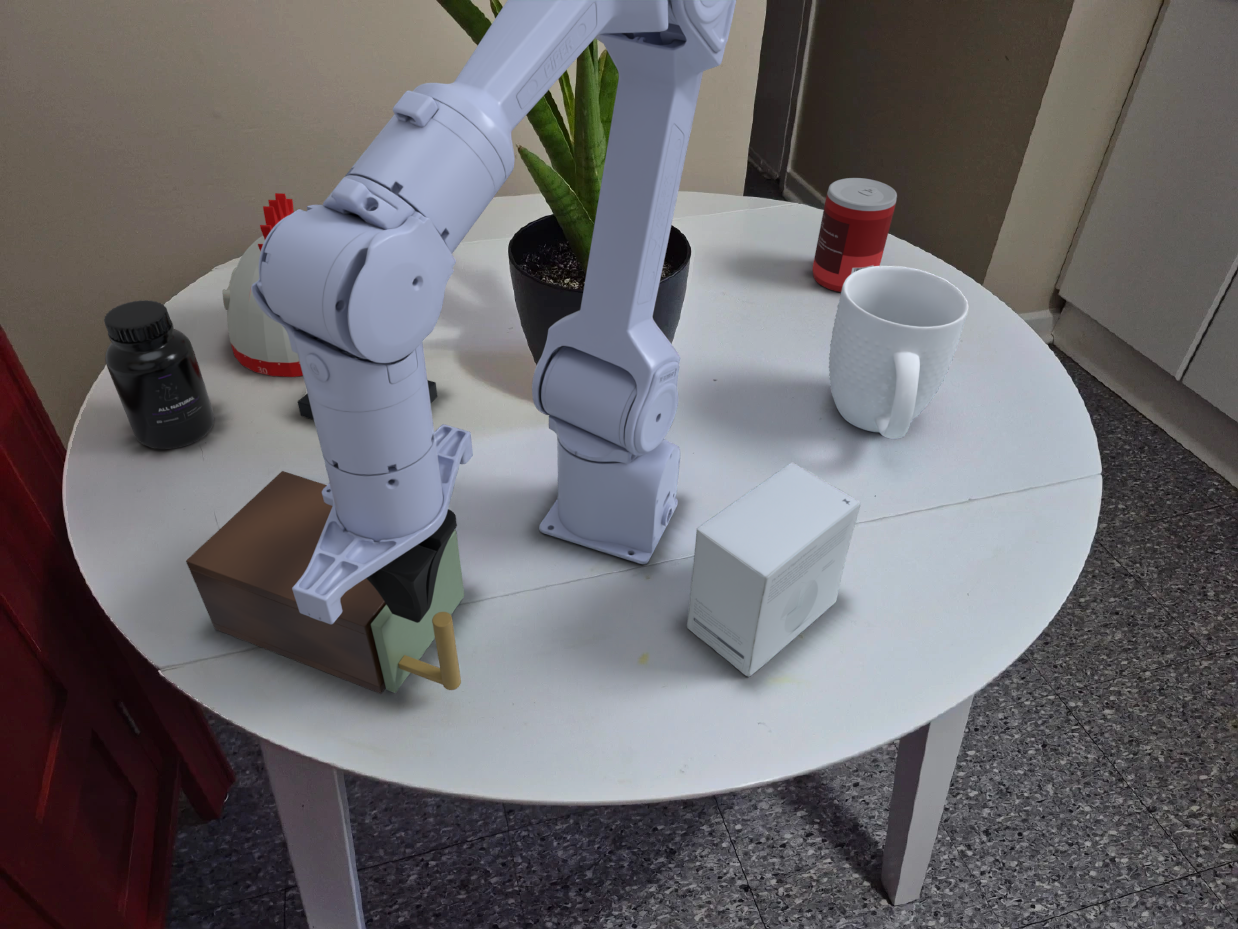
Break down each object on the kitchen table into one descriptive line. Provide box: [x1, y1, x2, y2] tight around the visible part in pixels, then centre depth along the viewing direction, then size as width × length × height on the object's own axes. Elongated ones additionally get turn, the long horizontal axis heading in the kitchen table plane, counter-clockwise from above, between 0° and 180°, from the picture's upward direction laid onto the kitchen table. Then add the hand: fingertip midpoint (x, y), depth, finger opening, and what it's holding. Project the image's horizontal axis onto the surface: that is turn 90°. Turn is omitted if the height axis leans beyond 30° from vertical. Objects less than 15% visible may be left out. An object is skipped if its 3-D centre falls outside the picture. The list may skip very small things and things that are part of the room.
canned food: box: [812, 177, 898, 293], centre depth 102 cm, size 8×8×11 cm
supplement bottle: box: [103, 299, 215, 450], centre depth 76 cm, size 7×7×12 cm
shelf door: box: [371, 529, 465, 694], centre depth 59 cm, size 5×9×8 cm, turn 158°
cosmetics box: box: [686, 461, 862, 678], centre depth 62 cm, size 10×6×10 cm, turn 133°
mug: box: [828, 265, 969, 440], centre depth 79 cm, size 15×11×13 cm
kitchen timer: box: [221, 192, 303, 378], centre depth 86 cm, size 14×14×15 cm
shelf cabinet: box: [185, 470, 386, 695], centre depth 62 cm, size 14×10×7 cm
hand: (410, 610), depth 54 cm, fingers closed
